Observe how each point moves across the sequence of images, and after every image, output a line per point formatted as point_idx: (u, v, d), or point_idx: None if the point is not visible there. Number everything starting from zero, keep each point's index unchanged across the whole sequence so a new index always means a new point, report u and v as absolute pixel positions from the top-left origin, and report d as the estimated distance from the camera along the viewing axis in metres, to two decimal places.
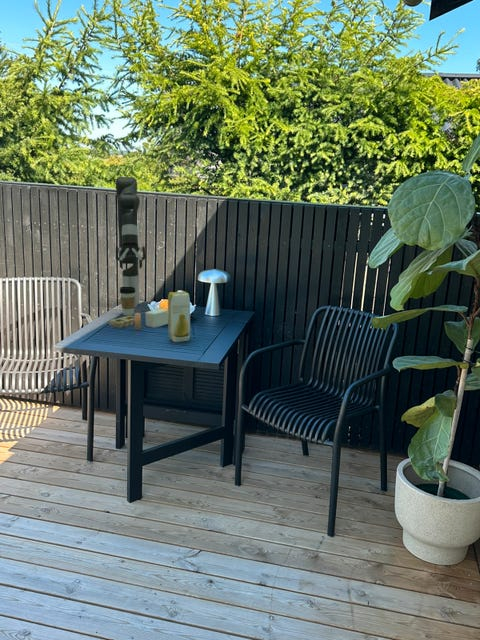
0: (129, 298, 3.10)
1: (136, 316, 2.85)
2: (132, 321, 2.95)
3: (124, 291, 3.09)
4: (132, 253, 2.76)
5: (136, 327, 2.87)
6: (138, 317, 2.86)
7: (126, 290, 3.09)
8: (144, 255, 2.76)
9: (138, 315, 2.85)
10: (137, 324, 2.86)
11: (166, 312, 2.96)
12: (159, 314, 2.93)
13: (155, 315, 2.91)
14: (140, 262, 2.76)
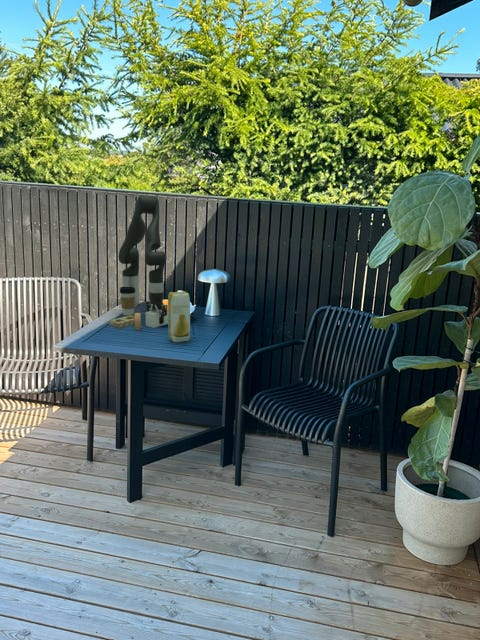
0: (129, 298, 3.10)
1: (136, 316, 2.85)
2: (132, 321, 2.95)
3: (124, 291, 3.09)
4: (155, 308, 2.93)
5: (136, 327, 2.87)
6: (138, 317, 2.86)
7: (126, 290, 3.09)
8: (162, 313, 2.91)
9: (138, 315, 2.85)
10: (137, 324, 2.86)
11: None
12: None
13: (155, 315, 2.91)
14: (160, 319, 2.93)
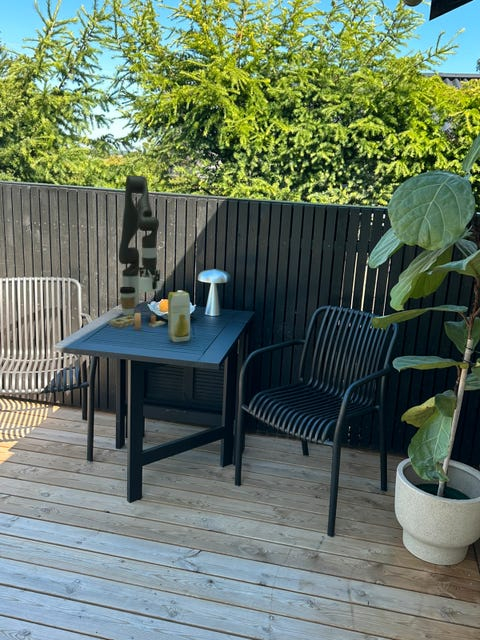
0: (129, 298, 3.10)
1: (136, 316, 2.85)
2: (132, 321, 2.95)
3: (124, 291, 3.09)
4: (148, 273, 2.98)
5: (136, 327, 2.87)
6: (138, 317, 2.86)
7: (126, 290, 3.09)
8: (155, 278, 2.95)
9: (138, 315, 2.85)
10: (137, 324, 2.86)
11: None
12: None
13: (148, 280, 2.95)
14: (153, 284, 2.97)
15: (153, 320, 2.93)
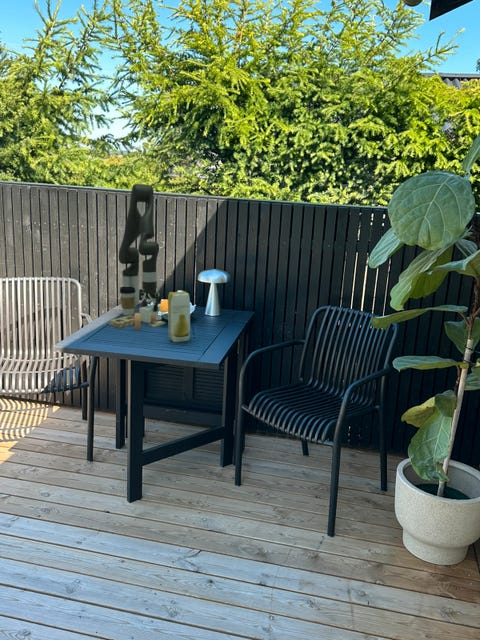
0: (129, 298, 3.10)
1: (136, 316, 2.85)
2: (132, 321, 2.95)
3: (124, 291, 3.09)
4: (149, 297, 3.01)
5: (136, 327, 2.87)
6: (138, 317, 2.86)
7: (126, 290, 3.09)
8: (156, 301, 2.98)
9: (138, 315, 2.85)
10: (137, 324, 2.86)
11: None
12: (153, 310, 3.01)
13: (149, 310, 2.99)
14: (154, 307, 3.00)
15: (153, 320, 2.93)
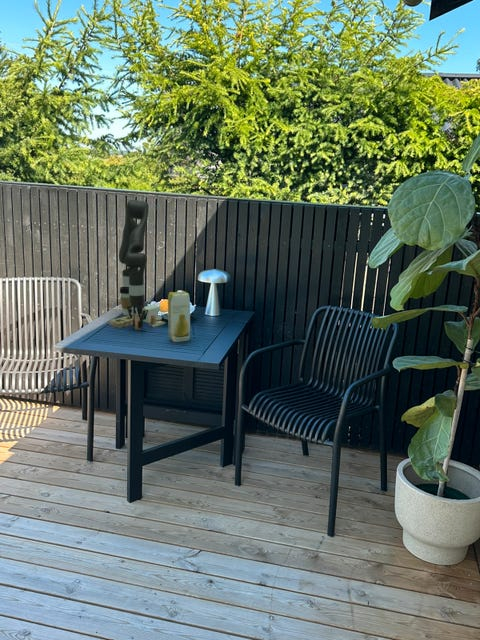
0: None
1: (136, 316, 2.85)
2: (132, 321, 2.95)
3: (124, 291, 3.09)
4: (135, 311, 2.85)
5: (136, 327, 2.87)
6: None
7: (126, 290, 3.09)
8: (141, 317, 2.83)
9: None
10: (137, 324, 2.86)
11: None
12: (153, 310, 3.01)
13: (149, 310, 2.99)
14: (138, 323, 2.85)
15: (153, 320, 2.93)
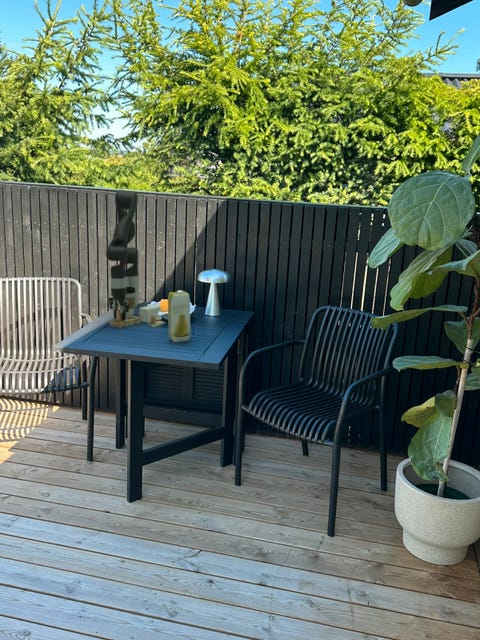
0: (129, 298, 3.10)
1: (118, 312, 2.91)
2: (132, 321, 2.95)
3: None
4: (118, 304, 2.90)
5: None
6: (120, 313, 2.92)
7: (126, 290, 3.09)
8: (124, 309, 2.88)
9: (120, 311, 2.91)
10: (119, 320, 2.92)
11: None
12: (153, 310, 3.01)
13: (149, 310, 2.99)
14: (121, 315, 2.90)
15: (153, 320, 2.93)
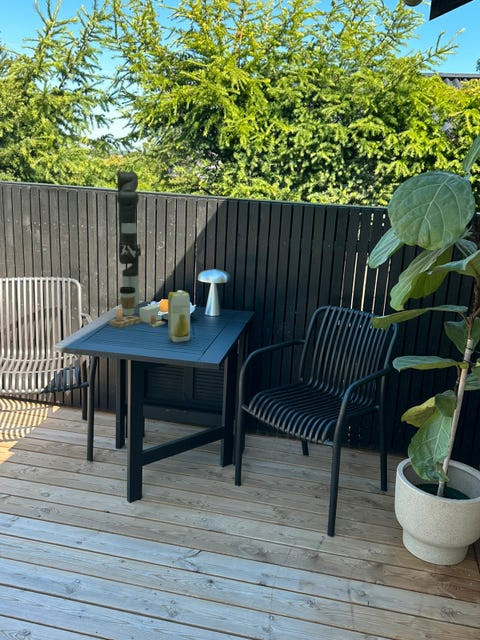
0: (129, 298, 3.10)
1: (118, 312, 2.91)
2: (132, 321, 2.95)
3: (124, 291, 3.09)
4: (129, 250, 2.94)
5: None
6: (120, 313, 2.92)
7: (126, 290, 3.09)
8: (136, 253, 2.91)
9: (120, 311, 2.91)
10: (119, 320, 2.92)
11: None
12: (153, 310, 3.01)
13: (149, 310, 2.99)
14: (134, 259, 2.93)
15: (153, 320, 2.93)
